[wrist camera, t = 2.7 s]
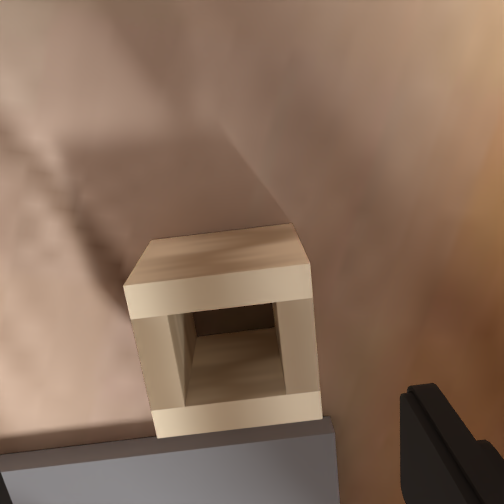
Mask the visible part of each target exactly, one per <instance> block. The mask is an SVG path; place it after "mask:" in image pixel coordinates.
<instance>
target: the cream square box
mask: <svg viewBox="0 0 504 504" xmlns="http://www.w3.org/2000/svg"><path fill="white" fill-rule="evenodd" d="M123 288H124V292H125V297H126V301H127V306H128V310H129V315H130V319H131V324H132V328H133V333H134V337H135V341H136V346H137V350H138V355H139V359H140V364H141V368H142V373H143V377H144V382H145V386H146V390H147V395H148V399H149V404H150V408H151V413H152V417H153V422H154V426H155V431H156V435H157V438H166V437H174V436H183V435H191V434H200V433H208V432H217V431H225V430H234V429H242V428H251V427H259V426H268V425H276V424H285V423H293V422H302V421H310V420H319V419H323V417H322V405H321V392H320V380H319V367H318V355H317V342H316V330H315V317H314V304H313V292H312V279H311V267H310V262H309V260H308V257H307V255H306V253H305V251H304V248H303V246H302V244H301V242H300V240H299V237H298V235H297V233H296V231H295V228H294V226H293V224H292V223H288V224H280V225H272V226H263V227H255V228H247V229H238V230H230V231H222V232H214V233H205V234H197V235H189V236H180V237H172V238H164V239H156V240H151V241H150V243H149V244H148V246H147V248H146V249H145V251H144V252H143V254H142V256H141V257H140V259H139V261H138V262H137V264H136V266H135V267H134V269H133V270H132V272H131V274H130V275H129V277H128V279H127V280H126V282H125V284H124V285H123ZM265 303H272V304H273V313H274V322H275V327H274V328H266V329H257V330H249V331H240V332H232V333H224V334H215V335H207V336H199V337H197V335H196V330H195V324H194V318H193V312H198V311H206V310H215V309H223V308H232V307H240V306H248V305H257V304H265Z"/></svg>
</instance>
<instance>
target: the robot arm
mask: <svg viewBox="0 0 504 504" xmlns="http://www.w3.org/2000/svg"><path fill="white" fill-rule="evenodd" d="M400 477H401V490H402V494H403V498H404V500H405V503H406V504H504V459H503V458H502V457H501V455H500V454H499V453H498V452H497V450H496V449H495V448H494V447H493V445H492V444H491V443H490V442H488V441H486V440H478V441H476V440H475V438H474V437H473V435H472V434H471V433H470V431H469V430H468V428H467V427H466V426H465V424H464V423H463V421H462V420H461V419H460V417H459V416H458V414H457V413H456V412H455V410H454V409H453V407H452V406H451V405H450V403H449V402H448V400H447V399H446V398H445V396H444V395H443V393H442V392H441V391H440V389H439V388H438V386H437V385H436V384H434V383H429V384H421V385H413V386H409V387H408V389H407V393H403V394H401V396H400ZM0 504H13V503H12V500H11V498H10V495H9V493H8V490H7V487H6V485H5V482H4V480H3V477H2V475H1V472H0Z"/></svg>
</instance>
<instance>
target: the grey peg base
mask: <svg viewBox="0 0 504 504" xmlns="http://www.w3.org/2000/svg"><path fill="white" fill-rule="evenodd" d="M0 472H1V475H2V477H3V480H4V482H5V485H6V487H7V490H8V493H9V495H10V498H11V500H12V503H13V504H340V498H339V484H338V469H337V455H336V441H335V431H334V428H333V425H332V421H331V418H330V416H326V417H323V419H319V420H310V421H302V422H293V423H285V424H276V425H268V426H259V427H251V428H242V429H234V430H225V431H217V432H208V433H200V434H191V435H183V436H174V437H166V438H157V436H156V437H147V438H139V439H130V440H122V441H113V442H105V443H96V444H88V445H79V446H71V447H63V448H54V449H46V450H37V451H29V452H20V453H12V454H3V455H0Z"/></svg>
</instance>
